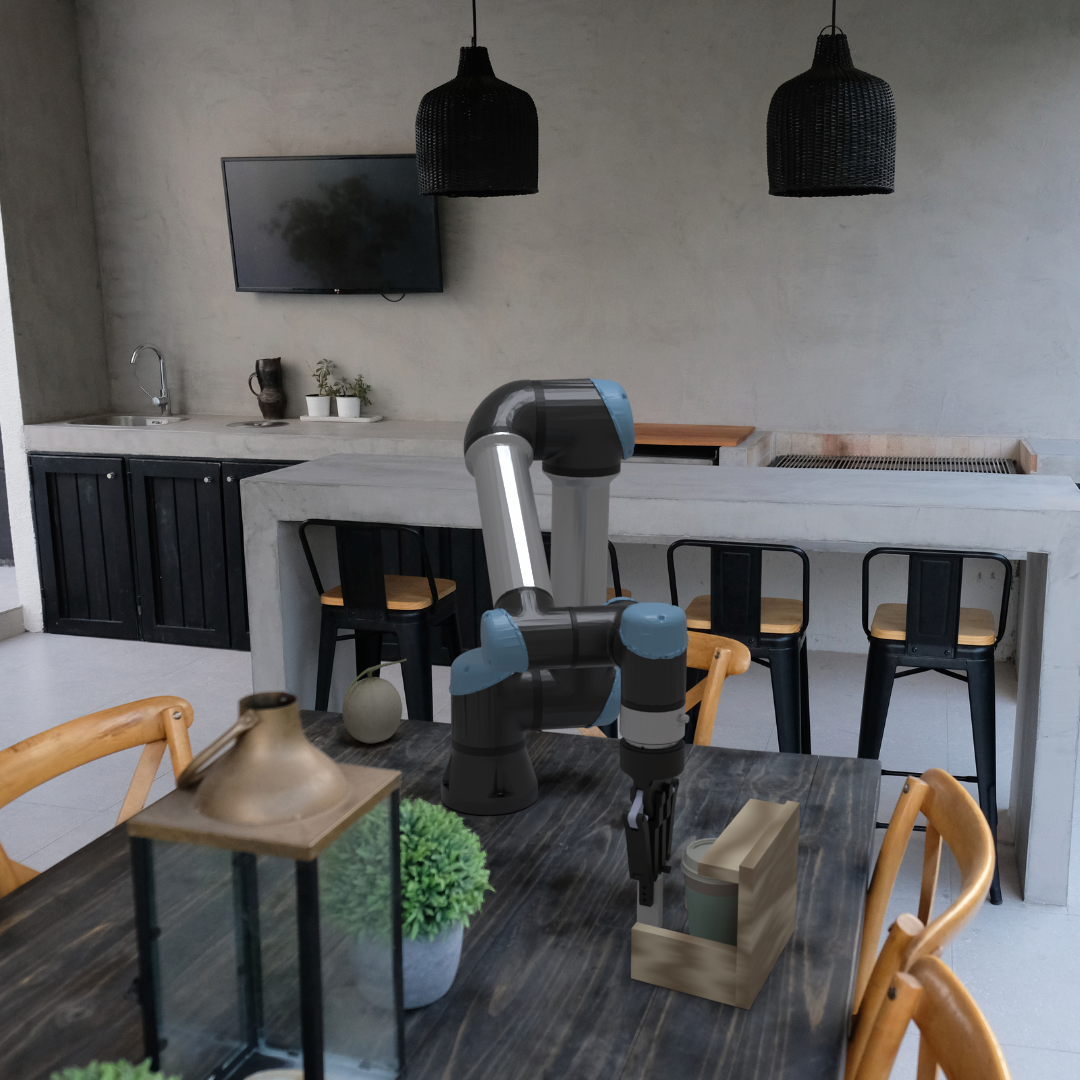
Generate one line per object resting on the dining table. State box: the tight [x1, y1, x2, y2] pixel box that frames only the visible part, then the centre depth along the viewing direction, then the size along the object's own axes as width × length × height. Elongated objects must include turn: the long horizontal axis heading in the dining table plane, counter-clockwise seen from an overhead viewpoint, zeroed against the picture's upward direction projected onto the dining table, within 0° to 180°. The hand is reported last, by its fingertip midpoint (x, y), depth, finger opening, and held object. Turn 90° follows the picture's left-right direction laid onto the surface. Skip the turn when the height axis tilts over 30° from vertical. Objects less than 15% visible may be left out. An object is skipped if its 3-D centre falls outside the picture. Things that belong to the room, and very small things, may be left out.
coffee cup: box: [680, 837, 739, 947], centre depth 130 cm, size 8×8×12 cm
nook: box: [630, 798, 801, 1011], centre depth 129 cm, size 14×19×16 cm
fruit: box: [341, 658, 407, 744], centre depth 199 cm, size 10×12×15 cm
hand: (649, 925), depth 134 cm, fingers closed
